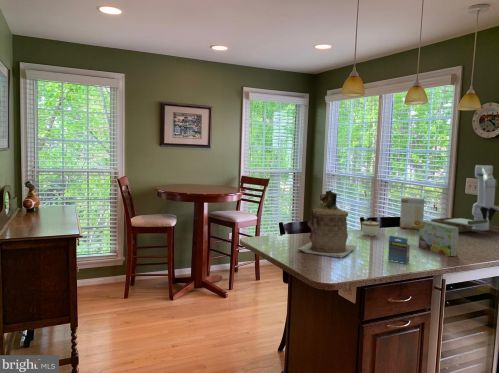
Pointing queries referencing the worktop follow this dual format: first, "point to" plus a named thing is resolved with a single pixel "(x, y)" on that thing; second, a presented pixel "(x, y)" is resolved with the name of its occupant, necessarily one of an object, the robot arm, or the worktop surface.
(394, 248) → the label tape box
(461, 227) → the crate
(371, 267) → the worktop surface
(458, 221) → the lid
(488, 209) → the robot arm
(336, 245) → the cookie jar
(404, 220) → the cracker box
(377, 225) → the lidded jar
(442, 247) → the snack box
